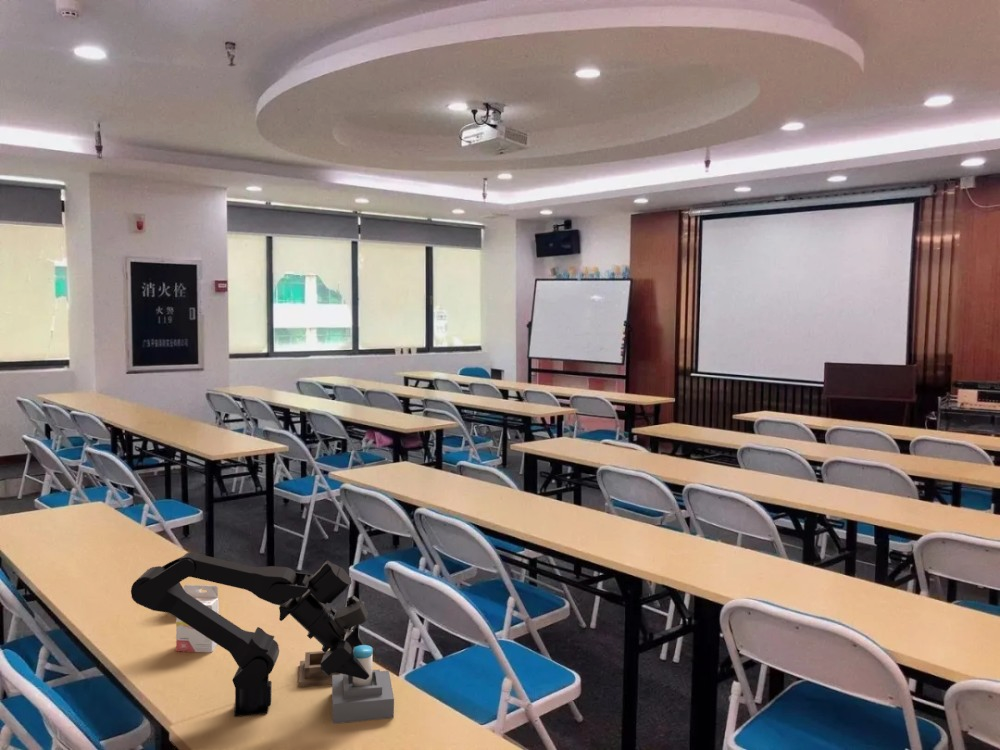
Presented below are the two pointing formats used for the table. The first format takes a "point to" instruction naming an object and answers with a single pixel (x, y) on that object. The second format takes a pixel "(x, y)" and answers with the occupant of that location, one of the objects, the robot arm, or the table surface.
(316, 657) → the low dock
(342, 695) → the upper dock
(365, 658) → the plug
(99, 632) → the table surface
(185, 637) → the ink cartridge box
